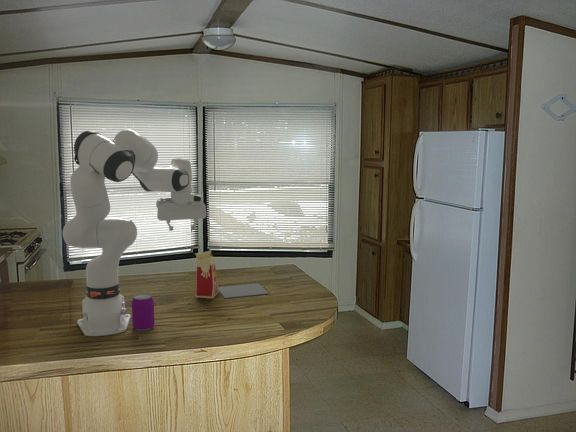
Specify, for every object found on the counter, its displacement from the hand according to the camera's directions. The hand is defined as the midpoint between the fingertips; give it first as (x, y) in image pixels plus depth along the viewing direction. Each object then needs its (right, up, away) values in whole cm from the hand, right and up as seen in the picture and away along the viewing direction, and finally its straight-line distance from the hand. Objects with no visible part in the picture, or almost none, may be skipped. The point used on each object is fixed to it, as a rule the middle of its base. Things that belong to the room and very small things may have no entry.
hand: (182, 229), depth 221 cm
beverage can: (-8, -35, -31) cm, 47 cm away
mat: (+24, -28, +14) cm, 39 cm away
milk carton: (+9, -29, +8) cm, 31 cm away
